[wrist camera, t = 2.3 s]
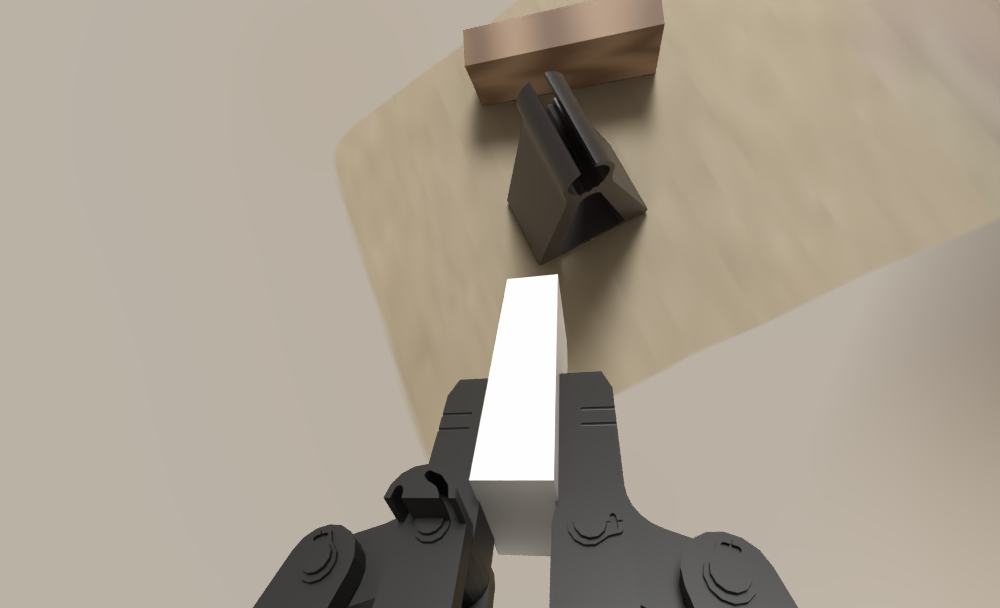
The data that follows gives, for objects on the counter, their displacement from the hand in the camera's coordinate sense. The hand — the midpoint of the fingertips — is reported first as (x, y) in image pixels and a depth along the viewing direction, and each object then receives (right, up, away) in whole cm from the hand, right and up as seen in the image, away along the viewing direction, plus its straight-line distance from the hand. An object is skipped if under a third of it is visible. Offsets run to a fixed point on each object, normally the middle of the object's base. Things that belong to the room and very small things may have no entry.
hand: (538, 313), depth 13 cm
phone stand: (+5, +8, +21) cm, 22 cm away
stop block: (+4, +19, +22) cm, 30 cm away
